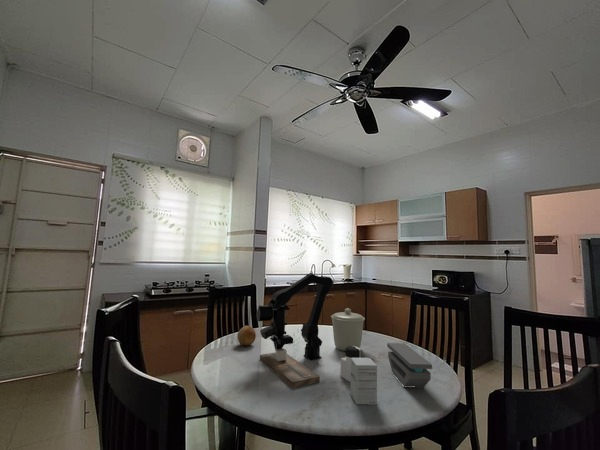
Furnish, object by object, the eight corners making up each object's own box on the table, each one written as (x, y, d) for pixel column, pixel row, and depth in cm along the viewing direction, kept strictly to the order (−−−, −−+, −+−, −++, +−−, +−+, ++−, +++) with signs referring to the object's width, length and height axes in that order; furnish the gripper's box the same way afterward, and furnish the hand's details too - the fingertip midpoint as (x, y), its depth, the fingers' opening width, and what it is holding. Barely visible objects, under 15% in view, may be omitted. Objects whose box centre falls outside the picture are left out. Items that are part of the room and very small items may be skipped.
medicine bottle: (350, 383, 109) (351, 351, 110) (340, 376, 115) (340, 345, 117) (365, 380, 112) (365, 348, 114) (354, 373, 119) (354, 343, 120)
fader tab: (283, 357, 128) (283, 348, 129) (286, 359, 126) (286, 350, 126) (275, 358, 126) (275, 349, 127) (278, 361, 124) (278, 351, 124)
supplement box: (349, 394, 100) (350, 357, 102) (370, 394, 101) (370, 357, 102) (355, 405, 93) (356, 365, 94) (377, 404, 93) (377, 365, 95)
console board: (282, 355, 137) (283, 350, 137) (319, 381, 109) (319, 375, 110) (259, 359, 131) (260, 354, 131) (292, 387, 104) (292, 381, 104)
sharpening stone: (387, 368, 125) (387, 342, 126) (404, 368, 125) (404, 343, 127) (410, 396, 100) (410, 364, 102) (432, 396, 101) (431, 364, 102)
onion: (233, 347, 147) (234, 327, 148) (242, 341, 157) (243, 323, 158) (250, 349, 144) (251, 329, 146) (258, 343, 154) (259, 325, 155)
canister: (369, 347, 153) (369, 308, 156) (357, 357, 138) (357, 313, 140) (338, 341, 163) (339, 304, 165) (324, 349, 148) (325, 308, 150)
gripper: (255, 317, 135) (253, 351, 133) (271, 326, 119) (269, 365, 117) (276, 315, 140) (275, 348, 139) (294, 323, 124) (293, 360, 122)
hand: (277, 355), depth 129 cm, fingers closed
